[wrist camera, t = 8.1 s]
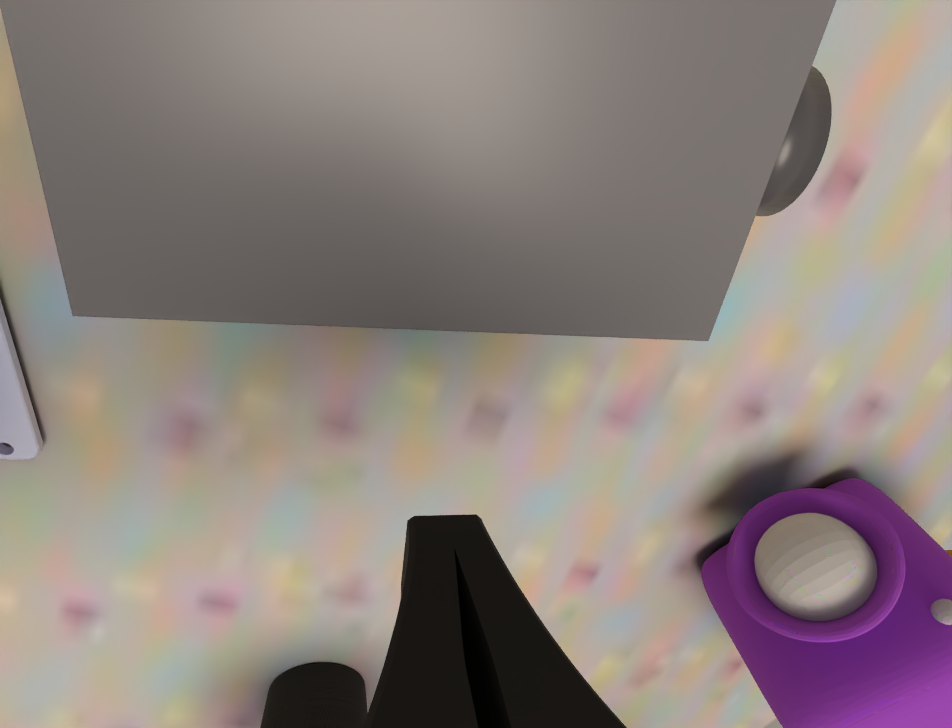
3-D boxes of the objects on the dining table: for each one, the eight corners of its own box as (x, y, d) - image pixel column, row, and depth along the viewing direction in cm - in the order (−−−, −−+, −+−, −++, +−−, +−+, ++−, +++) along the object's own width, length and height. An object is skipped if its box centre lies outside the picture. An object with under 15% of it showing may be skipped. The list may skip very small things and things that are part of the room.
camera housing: (139, 238, 18) (72, 315, 14) (67, -218, 13) (-75, -314, 9) (681, 272, 22) (758, 343, 17) (794, -72, 16) (942, -90, 12)
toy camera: (807, 404, 26) (1017, 603, 18) (928, 527, 32) (1126, 716, 24) (621, 551, 29) (725, 778, 21) (764, 637, 36) (888, 838, 27)
